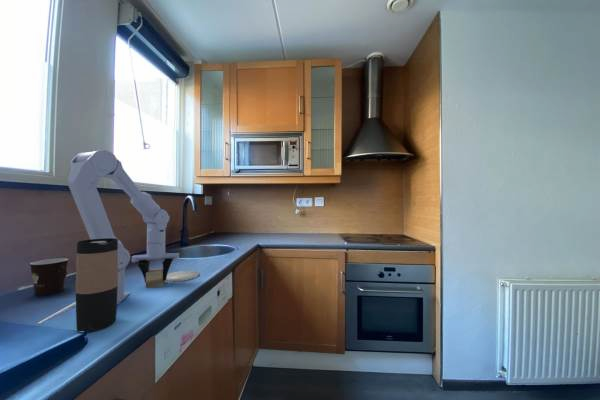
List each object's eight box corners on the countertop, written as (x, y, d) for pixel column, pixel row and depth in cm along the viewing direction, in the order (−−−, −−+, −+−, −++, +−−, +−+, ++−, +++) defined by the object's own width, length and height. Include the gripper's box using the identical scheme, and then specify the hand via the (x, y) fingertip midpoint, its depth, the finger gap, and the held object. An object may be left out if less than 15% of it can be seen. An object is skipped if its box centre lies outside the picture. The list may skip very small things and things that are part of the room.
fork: (30, 327, 58) (30, 319, 58) (93, 294, 78) (93, 288, 78) (45, 326, 58) (45, 318, 58) (104, 293, 78) (104, 288, 78)
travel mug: (88, 319, 60) (89, 238, 60) (123, 316, 62) (124, 237, 62) (66, 335, 52) (67, 243, 53) (106, 331, 54) (107, 242, 55)
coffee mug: (30, 292, 79) (30, 261, 79) (66, 285, 85) (67, 257, 85) (28, 302, 71) (29, 267, 71) (69, 294, 77) (69, 262, 77)
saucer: (197, 279, 91) (197, 277, 91) (161, 282, 88) (161, 280, 88) (200, 271, 103) (200, 269, 103) (168, 273, 99) (168, 271, 99)
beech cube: (162, 286, 84) (162, 271, 84) (145, 287, 83) (145, 273, 83) (165, 281, 89) (165, 268, 89) (149, 283, 88) (150, 269, 88)
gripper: (180, 239, 92) (180, 275, 92) (136, 241, 88) (136, 279, 88) (177, 242, 85) (176, 281, 85) (129, 244, 81) (128, 285, 81)
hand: (155, 280), depth 86 cm, fingers closed on beech cube, 5 cm apart
